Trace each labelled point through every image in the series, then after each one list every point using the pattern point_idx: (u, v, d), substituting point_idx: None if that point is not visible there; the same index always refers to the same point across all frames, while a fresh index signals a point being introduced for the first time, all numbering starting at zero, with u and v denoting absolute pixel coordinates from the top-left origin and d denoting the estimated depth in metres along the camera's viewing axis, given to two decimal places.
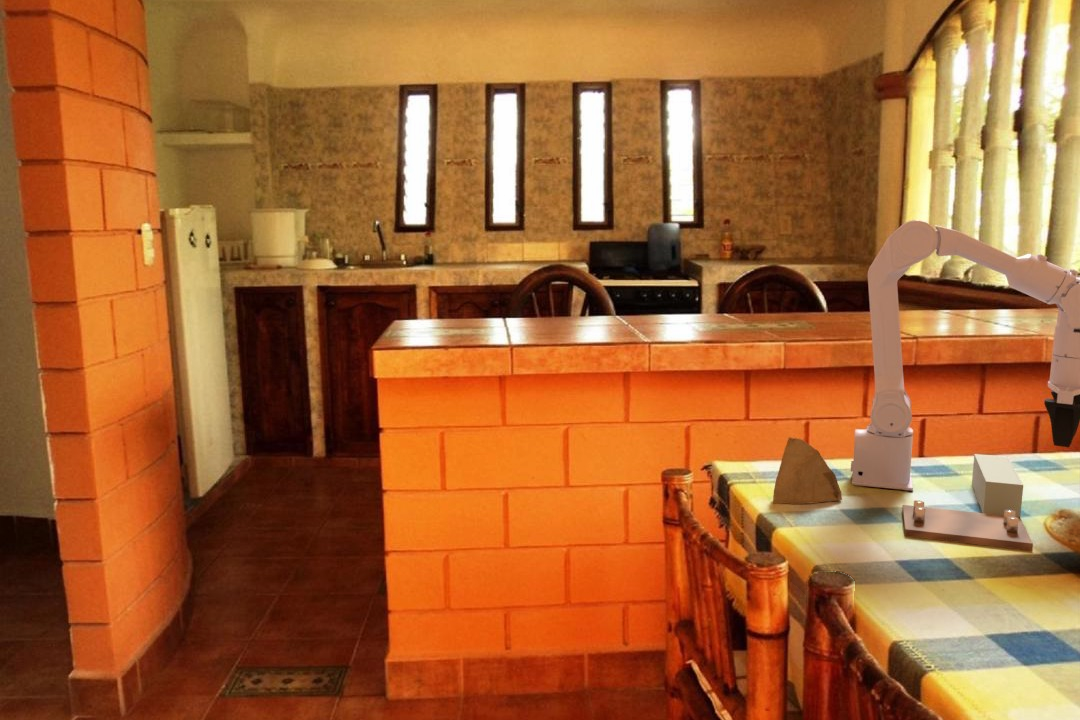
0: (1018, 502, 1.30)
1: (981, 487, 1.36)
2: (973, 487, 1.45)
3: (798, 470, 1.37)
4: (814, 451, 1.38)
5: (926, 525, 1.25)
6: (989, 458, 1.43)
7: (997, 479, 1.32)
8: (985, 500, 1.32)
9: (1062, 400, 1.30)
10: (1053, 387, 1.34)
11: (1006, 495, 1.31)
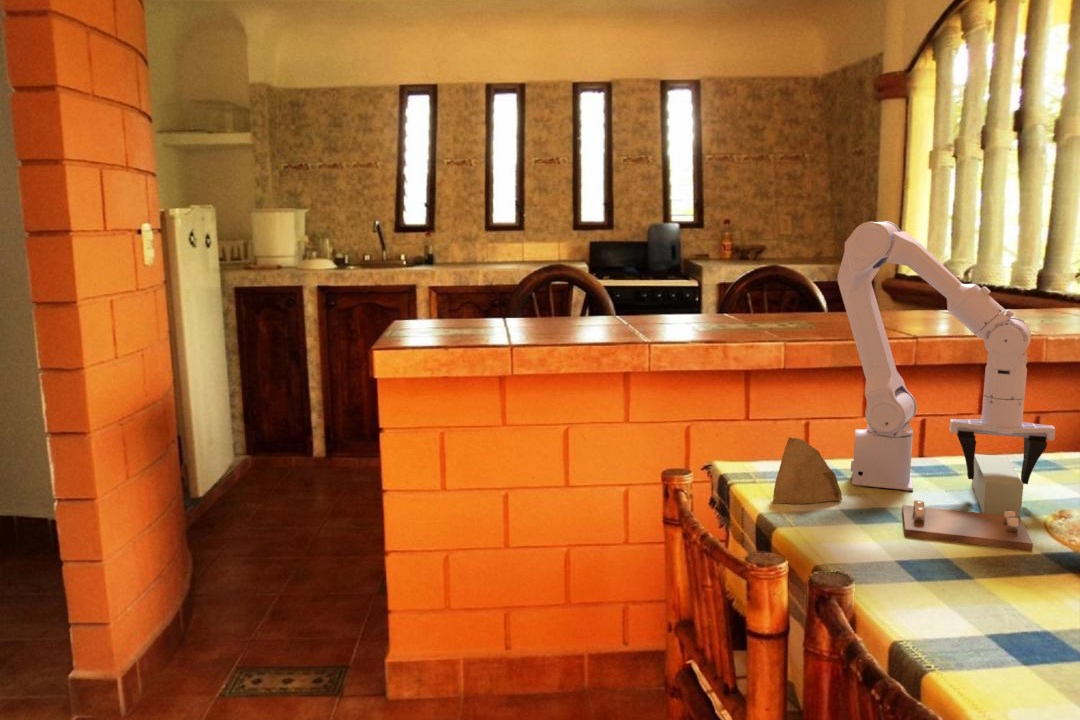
0: (1018, 502, 1.30)
1: (981, 487, 1.36)
2: (973, 487, 1.45)
3: (798, 469, 1.37)
4: (814, 451, 1.38)
5: (926, 525, 1.25)
6: (989, 458, 1.43)
7: (997, 479, 1.32)
8: (985, 500, 1.32)
9: (950, 428, 1.40)
10: None
11: (1007, 495, 1.31)
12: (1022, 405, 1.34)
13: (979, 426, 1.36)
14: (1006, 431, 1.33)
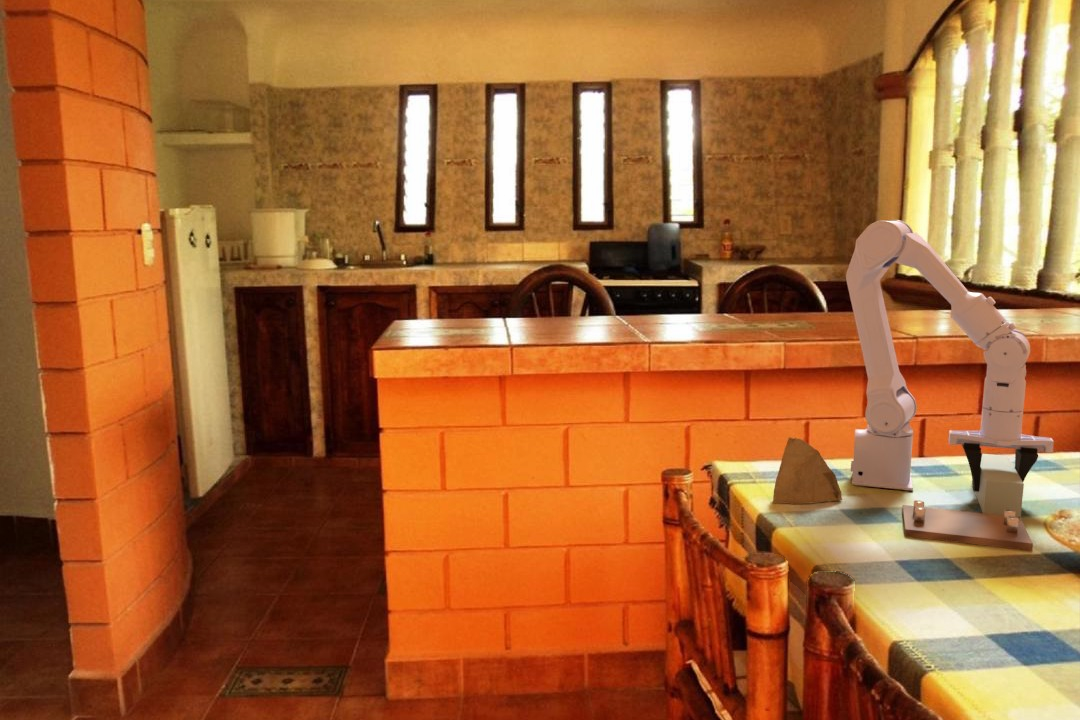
0: (1018, 501, 1.30)
1: (981, 486, 1.36)
2: None
3: (798, 470, 1.37)
4: (814, 451, 1.38)
5: (926, 525, 1.25)
6: (989, 457, 1.43)
7: (998, 478, 1.32)
8: (985, 499, 1.32)
9: None
10: None
11: (1007, 494, 1.31)
12: (1021, 417, 1.34)
13: (978, 438, 1.36)
14: (1005, 443, 1.33)
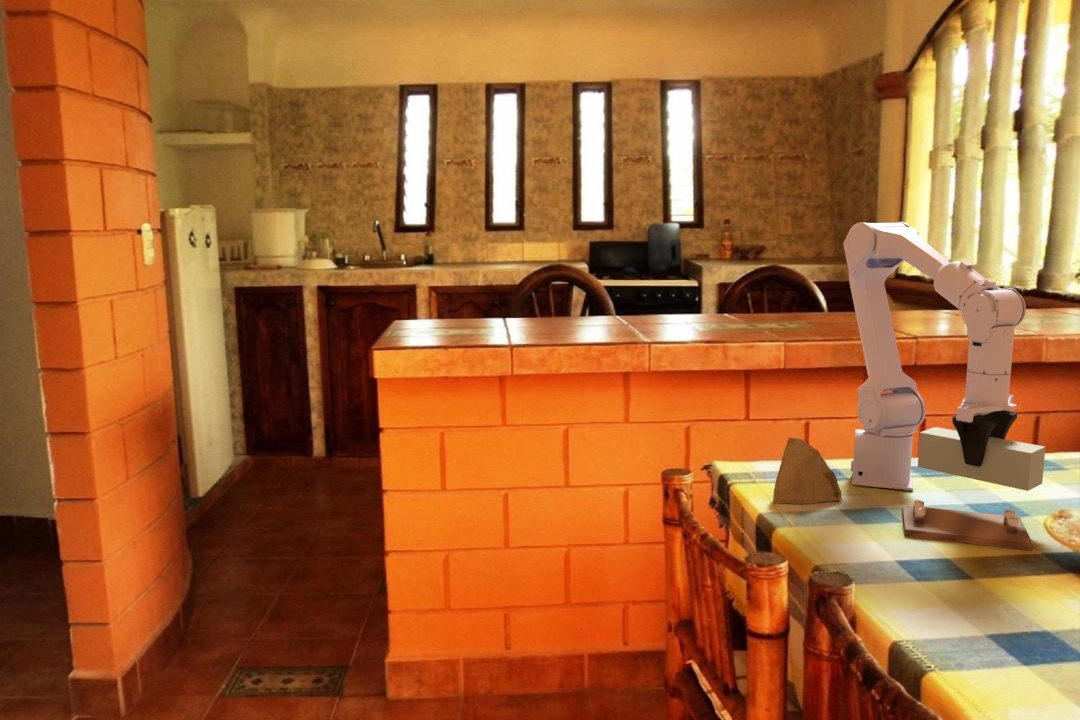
0: (1042, 466, 1.25)
1: (998, 462, 1.25)
2: (933, 467, 1.33)
3: (798, 470, 1.37)
4: (814, 451, 1.38)
5: (926, 525, 1.25)
6: (940, 432, 1.33)
7: (1023, 448, 1.24)
8: (1029, 473, 1.22)
9: (960, 417, 1.24)
10: (961, 404, 1.27)
11: (1038, 462, 1.24)
12: None
13: (990, 408, 1.24)
14: (1015, 407, 1.25)
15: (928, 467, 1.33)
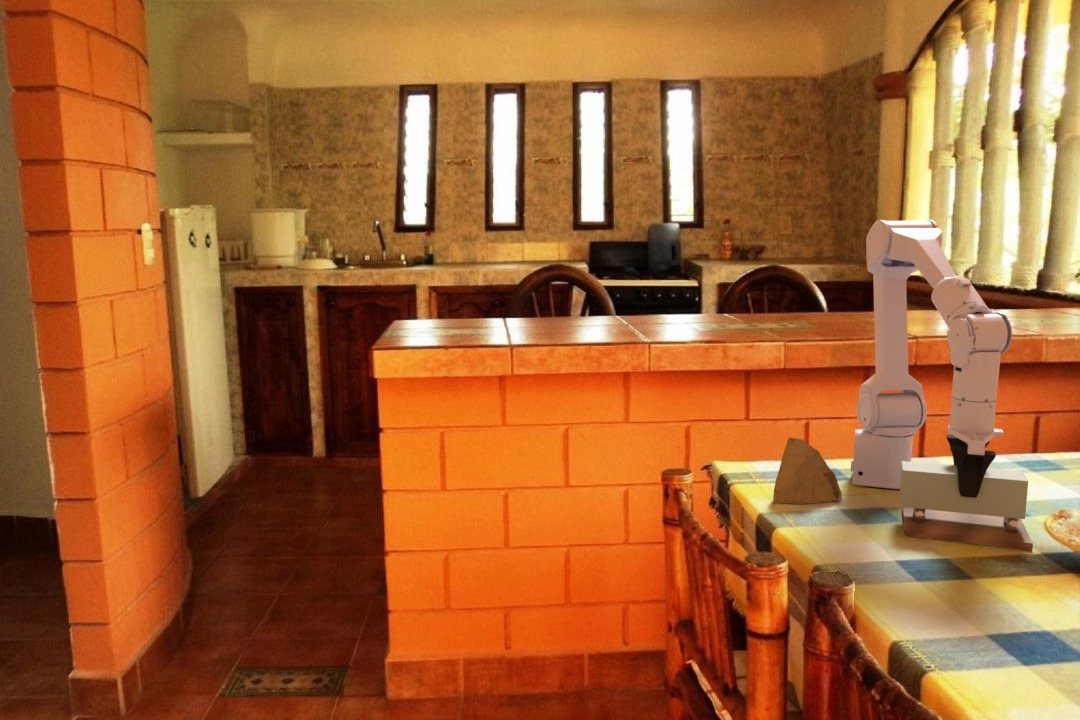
0: None
1: (992, 493, 1.22)
2: (918, 506, 1.25)
3: (798, 469, 1.38)
4: (814, 451, 1.38)
5: (926, 525, 1.25)
6: (918, 467, 1.26)
7: (1012, 476, 1.22)
8: (1026, 501, 1.20)
9: (973, 451, 1.17)
10: (958, 435, 1.21)
11: None
12: None
13: (990, 437, 1.20)
14: (1002, 432, 1.22)
15: (913, 506, 1.26)
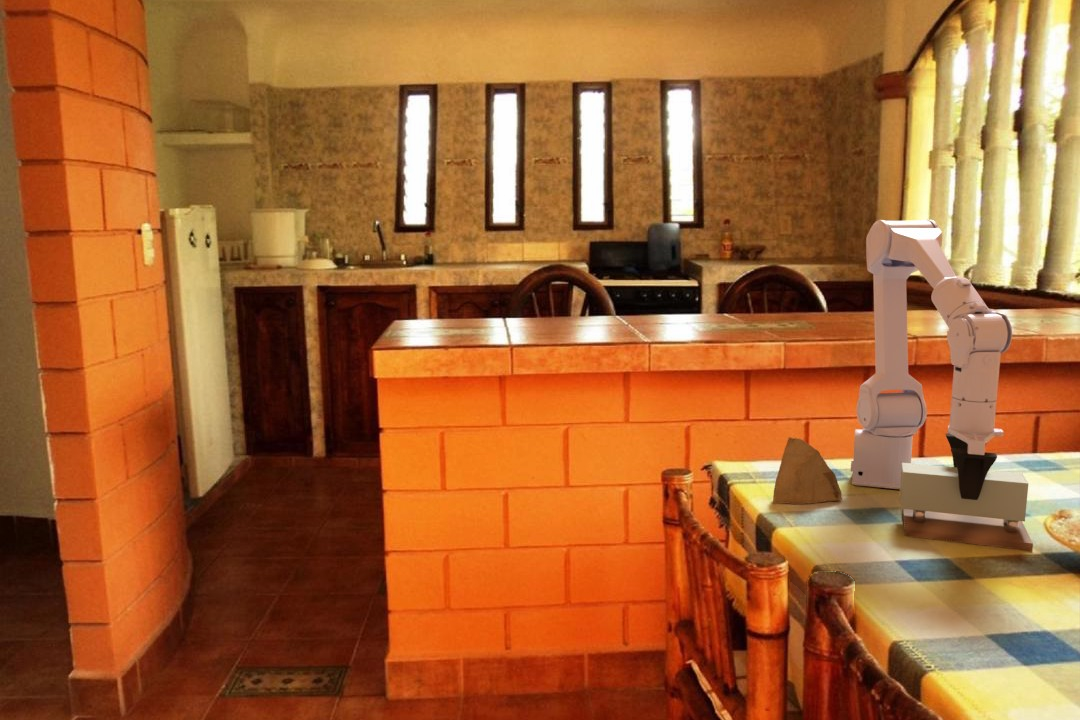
0: None
1: (992, 495, 1.22)
2: (918, 507, 1.25)
3: (798, 469, 1.37)
4: (814, 451, 1.38)
5: (926, 525, 1.25)
6: (918, 469, 1.27)
7: (1012, 478, 1.22)
8: (1026, 503, 1.20)
9: (973, 451, 1.17)
10: (958, 435, 1.21)
11: None
12: None
13: (990, 437, 1.20)
14: None
15: (913, 507, 1.26)
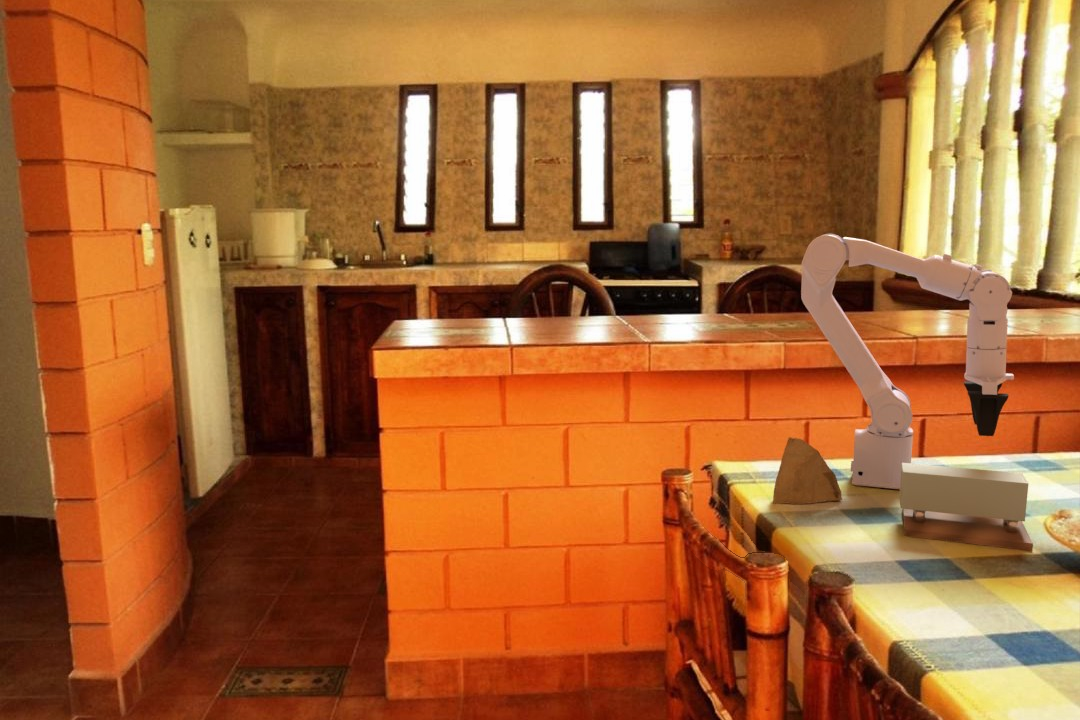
0: None
1: (992, 495, 1.22)
2: (918, 507, 1.25)
3: (798, 469, 1.37)
4: (814, 451, 1.38)
5: (926, 525, 1.25)
6: (918, 469, 1.27)
7: (1012, 478, 1.22)
8: (1026, 503, 1.20)
9: (987, 391, 1.34)
10: (974, 379, 1.37)
11: None
12: None
13: (1002, 379, 1.36)
14: None
15: (913, 507, 1.26)
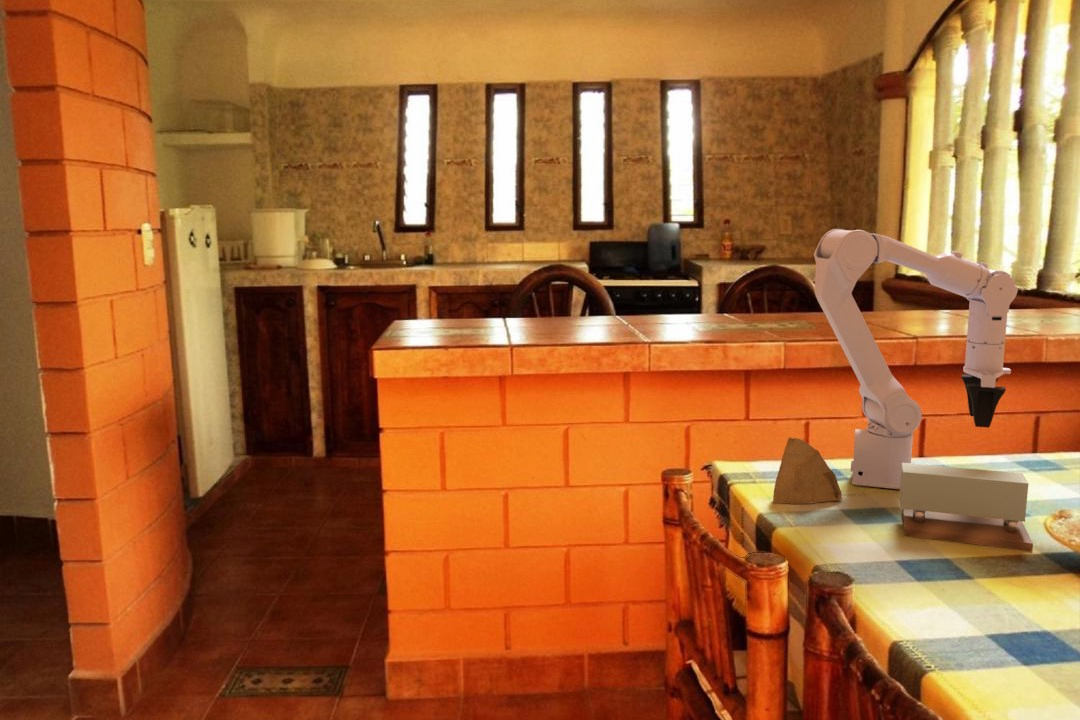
0: None
1: (992, 495, 1.22)
2: (918, 507, 1.25)
3: (798, 470, 1.37)
4: (814, 451, 1.38)
5: (926, 525, 1.25)
6: (918, 469, 1.27)
7: (1012, 478, 1.22)
8: (1026, 503, 1.20)
9: (985, 384, 1.39)
10: (973, 372, 1.43)
11: None
12: None
13: (999, 373, 1.42)
14: None
15: (913, 507, 1.26)
